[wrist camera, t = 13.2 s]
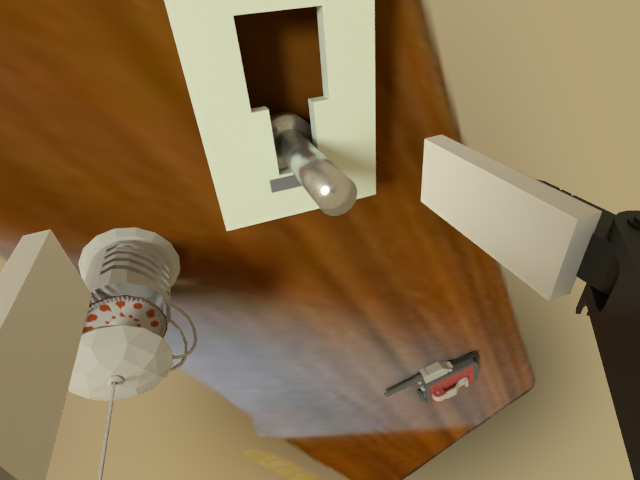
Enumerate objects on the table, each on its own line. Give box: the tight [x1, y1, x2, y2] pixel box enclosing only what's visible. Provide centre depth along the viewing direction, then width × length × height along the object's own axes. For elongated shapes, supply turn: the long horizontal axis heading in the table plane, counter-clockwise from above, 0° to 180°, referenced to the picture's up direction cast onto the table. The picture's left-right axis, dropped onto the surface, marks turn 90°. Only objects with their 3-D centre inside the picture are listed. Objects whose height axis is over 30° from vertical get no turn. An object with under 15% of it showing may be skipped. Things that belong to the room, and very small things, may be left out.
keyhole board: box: [164, 0, 376, 231], centre depth 34 cm, size 20×16×5 cm
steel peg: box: [270, 111, 357, 216], centre depth 32 cm, size 6×6×15 cm
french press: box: [68, 228, 197, 480], centre depth 30 cm, size 10×12×25 cm
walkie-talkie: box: [384, 352, 479, 404], centre depth 70 cm, size 9×4×20 cm
